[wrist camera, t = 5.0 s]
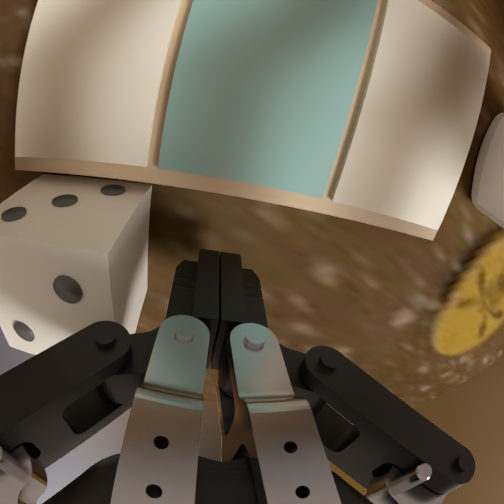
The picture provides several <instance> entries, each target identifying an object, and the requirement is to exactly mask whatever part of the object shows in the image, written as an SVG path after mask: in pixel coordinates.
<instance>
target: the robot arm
mask: <svg viewBox="0 0 504 504" xmlns="http://www.w3.org/2000/svg"><path fill="white" fill-rule="evenodd" d="M210 359H211V369H218V383H217V386H216V394H217V403H218V411H219V420H220V428H221V436H222V446H221V461H222V462H218V461H214V460H210V459H207V458H204V457H201V456H198V453H199V441H200V431H201V420H202V410H203V389H204V380H205V371H206V368H207V369H209V364H210ZM326 403H328V404H329V405H330V406H331V407H333V408H334V409H335V410H336V411H337V412H339V413H340V414H341V415H343V416H344V417H345V418H346V419H347V420H349V421H350V422H351V423H353V424H354V425H355V426H354V425H352V424H351V423H349V422H348V421H347V420H346V419H345V418H343V417H342V416H341V415H340V414H338V413H337V412H336V411H335V410H334V409H332V408H331V407H330V406H329V405H327V404H326ZM129 408H131V411H130V416H129V419H128V423H127V427H126V431H125V435H124V440H123V444H122V449H121V453H120V454H116V455H113V456H110V457H107V458H105V459H102V460H101V461H99V462H97V463H95V464H94V465H93V466H91V467H90V468H89V469H87V470H86V471H85V472H84V473H82V474H81V475H80V476H79V477H77V478H76V479H75V480H73V481H72V482H71V483H70V484H68V485H67V486H66V487H64V488H63V489H62V490H60V491H59V492H58V493H56V494H55V495H54V496H52V497H51V498H49V499H48V500H47V501H45V502H44V503H43V504H442V502H443V500H444V498H445V496H446V494H447V493H448V492H450V491H452V490H454V489H456V488H458V487H460V486H462V485H464V484H465V483H467V482H468V481H470V480H471V478H472V477H473V475H474V472H475V461H474V458H473V456H472V454H471V452H470V451H469V450H468V449H467V448H466V447H464V446H463V445H461V444H460V443H458V442H457V441H456V440H454V439H453V438H452V437H450V436H449V435H448V434H446V433H445V432H443V431H442V430H441V429H439V428H438V427H437V426H435V425H434V424H433V423H431V422H430V421H429V420H427V419H426V418H425V417H423V416H422V415H421V414H419V413H418V412H416V411H415V410H414V409H413V408H411V407H410V406H409V405H407V404H406V403H405V402H403V401H402V400H401V399H399V398H398V397H397V396H395V395H394V394H393V393H391V392H390V391H389V390H388V389H386V388H385V387H384V386H382V385H381V384H380V383H378V382H377V381H376V380H375V379H373V378H372V377H371V376H369V375H368V374H367V373H366V372H364V371H363V370H362V369H360V368H359V367H358V366H357V365H355V364H354V363H353V362H351V361H350V360H349V359H348V358H346V357H345V356H344V355H343V354H341V353H340V352H339V351H337V350H335V349H333V348H331V347H327V346H316V347H313V348H311V349H310V350H309V351H308V352H307V354H304V353H301V352H298V351H295V350H292V349H289V348H286V347H284V346H282V345H281V344H279V342H278V340H277V337H276V336H275V334H274V333H273V332H272V331H271V330H269V329H268V325H267V319H266V314H265V308H264V302H263V299H262V291H261V286H260V280H259V278H258V277H257V275H256V274H255V273H254V271H253V270H250V269H243V268H242V265H241V256H240V255H239V254H232V253H226V252H220V256H219V251H212V250H206V249H200V252H199V259H198V262H195V261H188V260H183V261H182V262H181V263H180V264H179V265H178V266H177V267H176V272H175V276H174V281H173V286H172V290H171V295H170V300H169V305H168V310H167V315H166V319H165V320H164V321H163V322H162V324H161V325H160V326H159V327H158V328H156V329H155V330H152V331H149V332H145V333H136V334H129V332H128V331H127V329H126V328H125V327H123V326H122V325H120V324H119V323H116V322H113V321H98V322H95V323H93V324H91V325H89V326H87V327H85V328H83V329H82V330H80V331H78V332H76V333H74V334H73V335H71V336H69V337H67V338H66V339H64V340H62V341H60V342H58V343H57V344H55V345H53V346H51V347H49V348H48V349H46V350H44V351H42V352H41V353H39V354H37V355H35V356H34V357H32V358H30V359H28V360H26V361H25V362H23V363H21V364H19V365H18V366H16V367H14V368H12V369H11V370H9V371H7V372H6V373H4V374H2V375H0V504H36V502H37V499H38V498H39V497H40V496H41V495H42V494H43V493H44V491H45V489H46V487H47V474H46V471H45V468H46V467H48V466H49V465H51V464H52V463H54V462H55V461H57V460H58V459H60V458H61V457H63V456H64V455H66V454H67V453H69V452H70V451H71V450H73V449H74V448H76V447H77V446H79V445H80V444H82V443H83V442H84V441H85V440H87V439H89V438H90V437H91V436H93V435H94V434H96V433H97V432H98V431H99V430H101V429H102V428H104V427H105V426H107V425H108V424H109V423H111V422H112V421H113V420H115V419H116V418H117V417H119V416H120V415H121V414H123V413H124V412H125V411H127V410H128V409H129ZM327 459H328V460H329V461H331V462H332V463H333V464H335V465H336V466H337V467H338V468H339V469H341V470H342V471H343V472H345V473H346V474H347V475H348V476H350V477H351V478H352V479H354V480H355V481H357V482H358V483H359V484H360V485H362V486H363V487H365V488H366V489H367V490H366V494H365V495H364V496H363V495H362V494H361V493H359V492H358V491H357V490H356V489H354V488H353V487H352V486H351V485H349V484H348V483H347V482H346V481H345V480H343V479H342V478H341V477H340V476H338V475H337V474H336V473H334V472H333V471H331V469H330V466H329V463H328V461H327Z"/></svg>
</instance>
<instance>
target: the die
mask: <svg viewBox="0 0 504 504" xmlns="http://www.w3.org/2000/svg"><path fill="white" fill-rule="evenodd" d="M151 192H152V184H144V183H135V182H127V181H118V180H108V179H98V178H88V177H76V176H64V175H50V174H43V175H41V176H39V177H38V178H36V179H35V180H33V181H32V182H30V183H29V184H27V185H26V186H24V187H23V188H21V189H20V190H18V191H17V192H16V193H14V194H13V195H11V196H10V197H9V198H7V199H6V200H4V201H3V202H2V203H0V326H1V328H2V331H3V333H4V335H5V337H6V339H7V341H8V343H9V345H10V346H11V347H14V348H16V349H19V350H22V351H25V352H28V353H31V354H34V355H37V354H39V353H41V352H42V351H44V350H46V349H48V348H49V347H51V346H53V345H55V344H57V343H58V342H60V341H62V340H64V339H66V338H67V337H69V336H71V335H73V334H74V333H76V332H78V331H80V330H82V329H83V328H85V327H87V326H89V325H91V324H93V323H95V322H98V321H113V322H116V323H119V324H120V325H122V326H123V327H125V328H126V329H127V331H128V332H129V334H135V331H136V327H137V323H138V320H139V316H140V312H141V309H142V305H143V302H144V298H145V295H146V292H147V262H148V235H149V218H150V204H151Z"/></svg>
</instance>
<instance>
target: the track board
mask: <svg viewBox="0 0 504 504" xmlns="http://www.w3.org/2000/svg"><path fill="white" fill-rule="evenodd" d="M490 54H491V49H490V48H489V47H488V46H487V45H486V44H485V43H484V42H483V41H482V40H481V39H480V38H479V37H477V36H476V35H475V34H474V33H473V32H472V31H471V30H469V29H468V28H467V27H466V26H465V25H464V24H462V23H461V22H460V21H459V20H457V19H456V18H455V17H454V16H452V15H451V14H450V13H448V12H447V11H446V10H444V9H443V8H442V7H440V6H439V5H437V4H436V3H435V2H433V1H432V0H38V1H37V4H36V8H35V11H34V14H33V18H32V21H31V25H30V29H29V33H28V37H27V41H26V45H25V50H24V55H23V60H22V66H21V72H20V79H19V87H18V95H17V106H16V120H15V170H23V171H39V172H52V173H64V174H75V175H86V176H95V177H105V178H114V179H122V180H130V181H138V182H146V183H153V184H161V185H168V186H175V187H181V188H188V189H194V190H201V191H207V192H213V193H219V194H225V195H231V196H237V197H242V198H248V199H253V200H259V201H264V202H269V203H274V204H280V205H285V206H290V207H294V208H299V209H304V210H309V211H314V212H318V213H323V214H328V215H332V216H336V217H341V218H345V219H350V220H354V221H358V222H362V223H367V224H371V225H375V226H379V227H383V228H387V229H391V230H395V231H399V232H403V233H406V234H410V235H414V236H418V237H421V238H425V239H429V240H432V241H433V239H434V237H435V235H436V233H437V230H438V229H439V227H440V225H441V222H442V220H443V218H444V216H445V213H446V211H447V209H448V206H449V204H450V201H451V199H452V196H453V194H454V191H455V189H456V186H457V184H458V181H459V178H460V176H461V173H462V170H463V167H464V164H465V161H466V158H467V155H468V152H469V149H470V146H471V143H472V139H473V136H474V132H475V129H476V125H477V121H478V118H479V114H480V110H481V105H482V101H483V96H484V92H485V87H486V81H487V76H488V70H489V64H490Z"/></svg>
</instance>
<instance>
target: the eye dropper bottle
mask: <svg viewBox="0 0 504 504" xmlns="http://www.w3.org/2000/svg"><path fill="white" fill-rule="evenodd" d="M471 197H472V202H473V204H474V206H475V207H476V208H477V209H478V210H479V211H481V212H482V213H483V214H485V215H486V216H488V217H489V218H490V219H492V220H493V221H494V222H496V223H497V224H498V225H500V226H501V227H502V228H504V113H500V114H498V115H496V116H495V118H494V119H493V121H492V123H491V124H490V126H489V128H488V130H487V132H486V135H485V137H484V139H483V142H482V145H481V147H480V150H479V154H478V157H477V161H476V166H475V171H474V176H473V183H472V192H471Z"/></svg>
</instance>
